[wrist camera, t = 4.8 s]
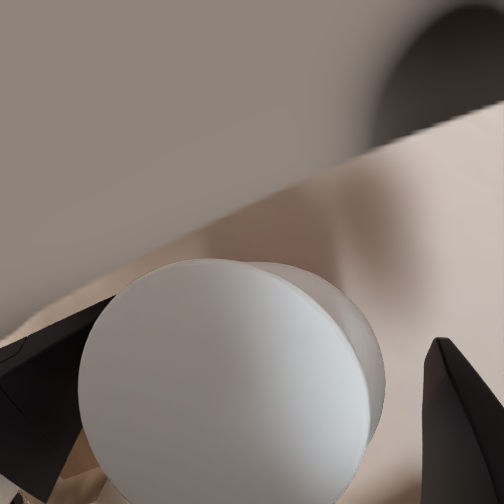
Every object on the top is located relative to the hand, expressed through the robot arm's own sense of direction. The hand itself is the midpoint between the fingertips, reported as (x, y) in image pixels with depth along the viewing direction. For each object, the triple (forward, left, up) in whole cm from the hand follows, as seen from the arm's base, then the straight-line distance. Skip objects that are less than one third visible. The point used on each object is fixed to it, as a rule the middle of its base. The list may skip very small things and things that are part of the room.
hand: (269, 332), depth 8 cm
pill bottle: (-1, -1, -7) cm, 7 cm away
